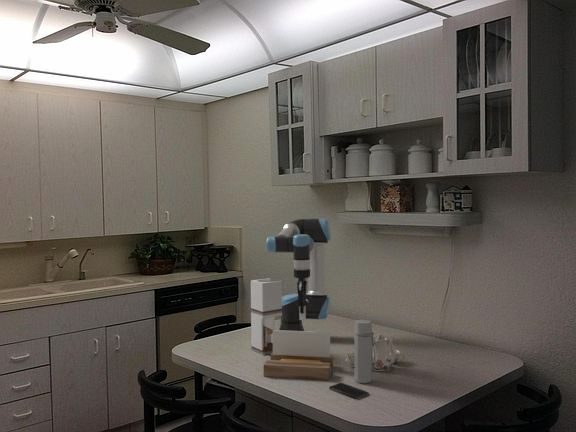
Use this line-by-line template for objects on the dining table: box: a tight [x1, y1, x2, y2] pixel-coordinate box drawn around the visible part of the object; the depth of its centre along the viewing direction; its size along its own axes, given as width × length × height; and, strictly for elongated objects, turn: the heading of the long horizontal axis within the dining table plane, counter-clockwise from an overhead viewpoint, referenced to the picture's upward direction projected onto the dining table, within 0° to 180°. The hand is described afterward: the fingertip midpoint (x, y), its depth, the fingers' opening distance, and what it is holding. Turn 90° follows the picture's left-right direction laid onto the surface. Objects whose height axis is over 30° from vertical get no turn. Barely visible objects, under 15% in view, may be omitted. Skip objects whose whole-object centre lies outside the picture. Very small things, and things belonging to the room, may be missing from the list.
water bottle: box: [353, 319, 376, 384], centre depth 213 cm, size 9×8×25 cm
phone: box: [328, 382, 370, 400], centre depth 202 cm, size 8×1×15 cm
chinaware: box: [345, 332, 405, 372], centre depth 231 cm, size 28×17×17 cm, turn 111°
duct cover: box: [272, 329, 331, 357], centre depth 231 cm, size 11×26×1 cm
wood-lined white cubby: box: [250, 278, 283, 356], centre depth 256 cm, size 11×11×35 cm
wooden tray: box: [263, 352, 334, 381], centre depth 226 cm, size 18×28×5 cm, turn 79°
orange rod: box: [281, 359, 321, 362], centre depth 229 cm, size 3×19×3 cm, turn 80°
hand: (302, 319), depth 235 cm, fingers closed
